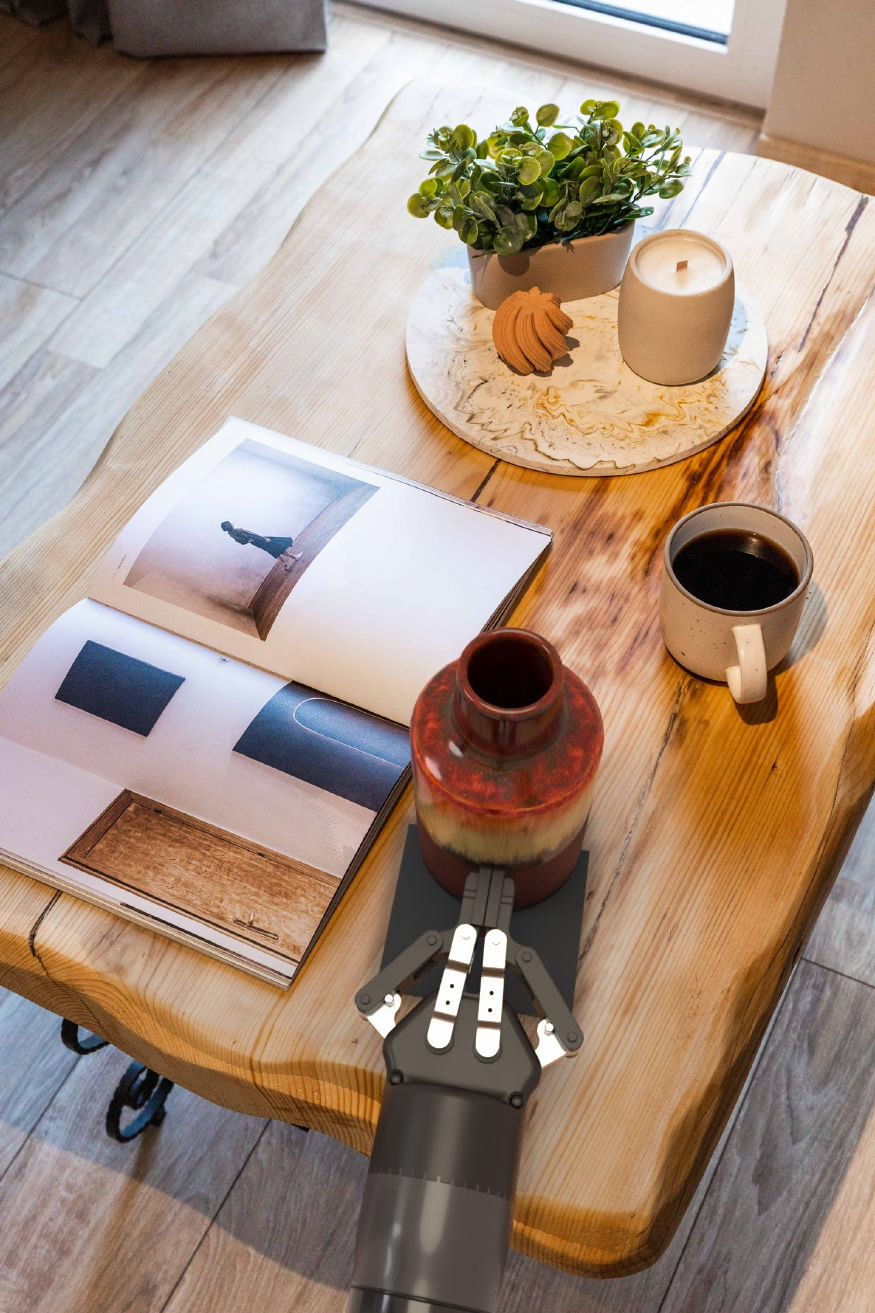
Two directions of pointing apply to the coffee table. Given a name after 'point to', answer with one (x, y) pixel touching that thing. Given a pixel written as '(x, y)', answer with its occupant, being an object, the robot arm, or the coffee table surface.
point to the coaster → (538, 927)
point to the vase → (505, 765)
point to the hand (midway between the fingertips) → (492, 869)
